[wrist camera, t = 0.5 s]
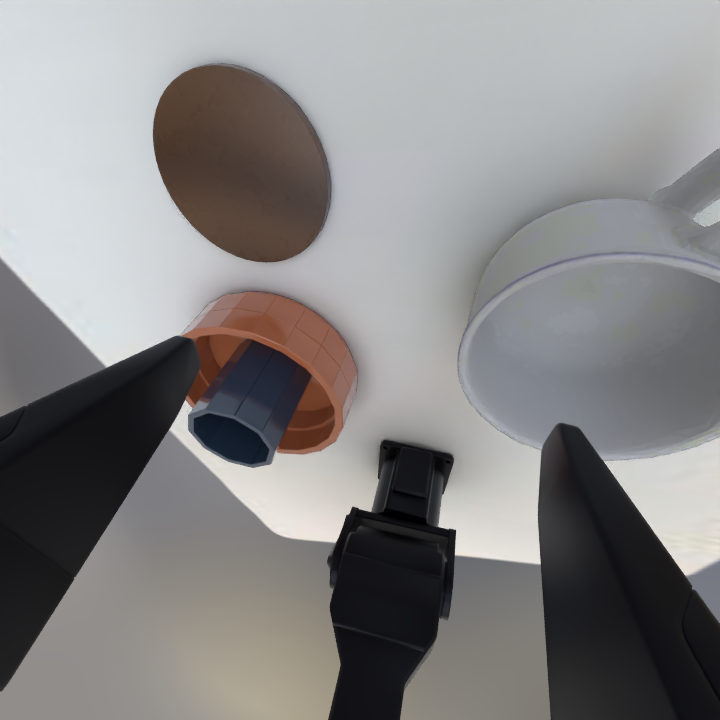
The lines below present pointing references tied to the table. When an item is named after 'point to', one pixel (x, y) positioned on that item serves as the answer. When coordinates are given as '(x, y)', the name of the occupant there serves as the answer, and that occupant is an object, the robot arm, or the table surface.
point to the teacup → (604, 324)
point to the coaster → (242, 162)
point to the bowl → (297, 341)
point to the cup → (249, 405)
